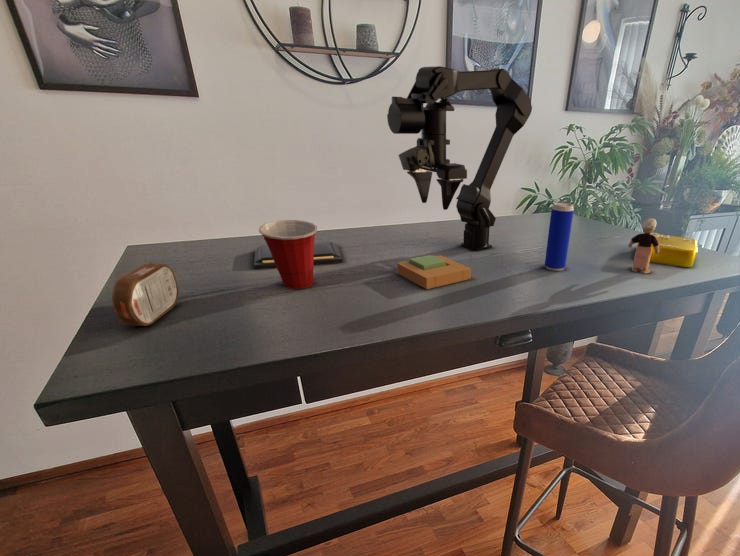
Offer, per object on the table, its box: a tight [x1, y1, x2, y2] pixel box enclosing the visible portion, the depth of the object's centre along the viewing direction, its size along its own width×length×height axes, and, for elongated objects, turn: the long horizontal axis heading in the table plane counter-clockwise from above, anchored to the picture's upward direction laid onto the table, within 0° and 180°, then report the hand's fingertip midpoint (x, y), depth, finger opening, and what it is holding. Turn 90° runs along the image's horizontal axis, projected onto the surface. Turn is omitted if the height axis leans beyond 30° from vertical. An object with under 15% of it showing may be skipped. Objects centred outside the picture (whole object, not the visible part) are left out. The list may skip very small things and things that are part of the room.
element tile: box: [635, 232, 698, 268], centre depth 121 cm, size 15×15×5 cm
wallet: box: [253, 240, 343, 269], centre depth 109 cm, size 20×2×15 cm
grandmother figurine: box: [627, 217, 659, 274], centre depth 108 cm, size 8×4×13 cm, turn 65°
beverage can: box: [544, 202, 575, 272], centre depth 106 cm, size 5×5×15 cm
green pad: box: [409, 254, 446, 270], centre depth 102 cm, size 6×6×3 cm
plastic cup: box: [258, 219, 318, 290], centre depth 90 cm, size 11×11×12 cm
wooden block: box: [396, 254, 472, 290], centre depth 100 cm, size 12×12×2 cm
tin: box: [111, 261, 180, 327], centre depth 75 cm, size 15×3×8 cm, turn 5°
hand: (434, 206), depth 109 cm, fingers open, 9 cm apart
